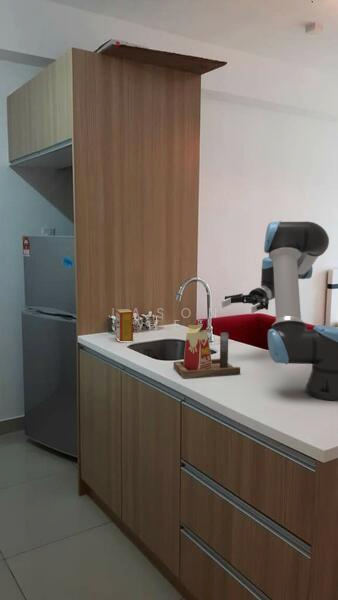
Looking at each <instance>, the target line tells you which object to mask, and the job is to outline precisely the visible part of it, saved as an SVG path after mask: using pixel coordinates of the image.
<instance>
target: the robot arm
mask: <svg viewBox="0 0 338 600" xmlns="http://www.w3.org/2000/svg"><path fill="white" fill-rule="evenodd" d="M329 244H330V238H329V235H328V232H327V231H326V230H325V229H324V228H323V226H321V225H319V224H318V223H315V222H313V221H281V220H279V221H271V222H269V223H268V225H267V227H266V232H265V239H264V243H263V252H264V253H265V254H268V256H265V257H264V258H262V262H261V278H260V279H261V280H260V286H258V287H256V288H254V289H252V290H251V291H250V292H249V293H248V294H243V293H239V294H233V295H225V296H224V300H222V301H221V308H223V309H225V308H226V307H228V306H231V305H232V304H241V303H242V304H251V314H254V313H256V312H258V311H260V310H264V309H265V310H266V311H267V310H269V303H270V301H272V300H274V304H275V305H274V306H275V321H274V322H273V323H272V325H271V328H270V329H268V330H267V346H268V352H269V355H270V358H271V360H272V361H273V362H274V363H276V364H285V365H288V364H289V365H290V364H295V365H296V364H297V365H301V364H302V365H311V372H310V375H309V377H308V379H307V383H306V385H305V392H306V394H307V395H309V396H310V397H313V398H316V399H320V400H324V401H325V400H326V401H338V327H335V326H329V325H324V324H322V325H321V324H319V325H318V324H316V325H314V327H313V329H307V324H306V322H304V321H303V319H302V315H301V300H300V299H301V298H300V286H299V285H300V283H299V280H305V279H311V277H312V276H313V271H314V270H313V265H314V264H315V262H316V261H317V259H318V258H319V257H320V256H323V254H324V253H325V252H326V251H327V250H328V247H329Z"/></svg>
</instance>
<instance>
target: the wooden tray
mask: <svg viewBox="0 0 338 600" xmlns="http://www.w3.org/2000/svg"><path fill="white" fill-rule="evenodd" d="M219 335H220V336H219V337H220V339H219V341H220V342H219V358H213V359H212V358H211V359H212V368H213V369H202V370H187V369H186V368H185V367H184V360H182V361H180V360H179V361H173V369H174V371H176V372H177V373H178V374H179V375H180V376H181V377H182V378H183V379H194V378H205V377H206V378H208V377H219V376H234V375H241V367H240V366H233V365H232V364H230V363H228V362H229V332H220V334H219Z"/></svg>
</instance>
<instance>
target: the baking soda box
mask: <svg viewBox="0 0 338 600" xmlns="http://www.w3.org/2000/svg"><path fill="white" fill-rule="evenodd" d="M133 325H134V312H133V311H132V310H130V308H129V309H128V308H123V309H115V338H116V337H117V338H118V339H119V340H120V341H133V342H134V326H133Z"/></svg>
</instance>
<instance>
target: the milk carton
mask: <svg viewBox="0 0 338 600" xmlns="http://www.w3.org/2000/svg"><path fill="white" fill-rule="evenodd" d="M203 325H204V323H200V324H196V325H194V324H193V325H187V327H188V329H187V332H186V338H185V344H184V352H183V353H184V355H183V361H184V367H185V368H186V369H187V370H202V369H213V368H212V353H211V348H210V341H209V335H208V330H207V329H206V328H205V327H203Z"/></svg>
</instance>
